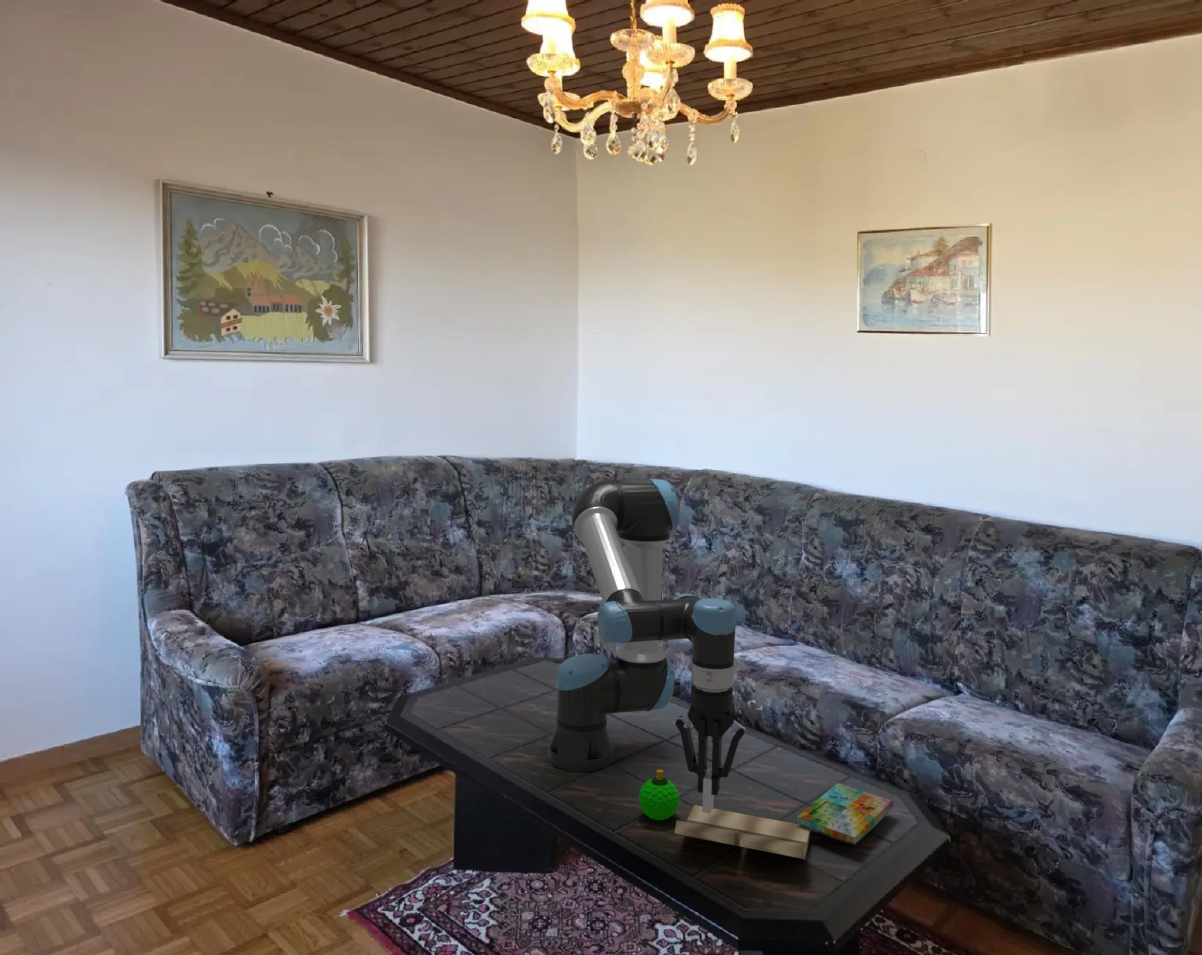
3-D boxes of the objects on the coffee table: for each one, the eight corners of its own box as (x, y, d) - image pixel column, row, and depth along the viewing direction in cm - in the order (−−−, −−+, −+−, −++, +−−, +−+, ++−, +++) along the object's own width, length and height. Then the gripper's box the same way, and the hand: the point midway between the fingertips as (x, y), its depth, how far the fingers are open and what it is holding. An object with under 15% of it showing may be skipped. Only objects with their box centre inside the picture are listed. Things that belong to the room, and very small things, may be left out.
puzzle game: (893, 796, 179) (854, 833, 163) (892, 818, 180) (853, 857, 164) (838, 778, 186) (796, 812, 171) (837, 799, 187) (795, 835, 171)
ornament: (638, 807, 182) (639, 761, 181) (677, 808, 182) (679, 762, 180) (638, 827, 174) (639, 779, 173) (679, 829, 174) (681, 781, 172)
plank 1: (674, 833, 163) (676, 819, 164) (683, 835, 171) (685, 822, 172) (733, 844, 159) (735, 831, 160) (740, 846, 167) (741, 833, 168)
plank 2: (739, 845, 159) (740, 832, 160) (745, 847, 167) (747, 834, 168) (801, 858, 156) (802, 844, 156) (804, 858, 163) (806, 845, 164)
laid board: (685, 833, 172) (686, 821, 172) (693, 815, 179) (694, 804, 178) (805, 856, 165) (806, 844, 164) (809, 837, 171) (810, 825, 171)
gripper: (671, 687, 158) (668, 812, 161) (744, 697, 154) (739, 825, 156) (681, 674, 165) (678, 794, 168) (751, 683, 161) (746, 806, 163)
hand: (707, 809), depth 162 cm, fingers closed
